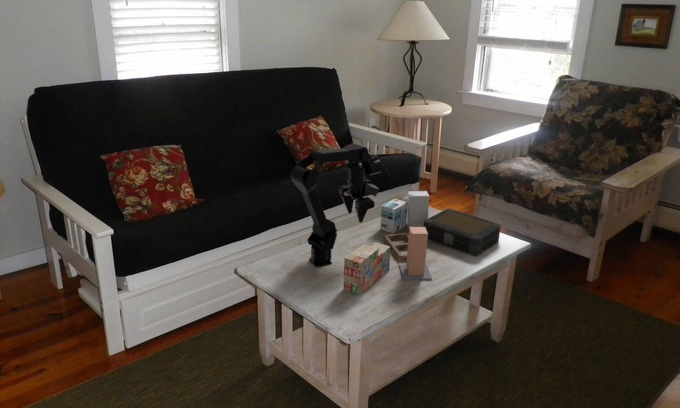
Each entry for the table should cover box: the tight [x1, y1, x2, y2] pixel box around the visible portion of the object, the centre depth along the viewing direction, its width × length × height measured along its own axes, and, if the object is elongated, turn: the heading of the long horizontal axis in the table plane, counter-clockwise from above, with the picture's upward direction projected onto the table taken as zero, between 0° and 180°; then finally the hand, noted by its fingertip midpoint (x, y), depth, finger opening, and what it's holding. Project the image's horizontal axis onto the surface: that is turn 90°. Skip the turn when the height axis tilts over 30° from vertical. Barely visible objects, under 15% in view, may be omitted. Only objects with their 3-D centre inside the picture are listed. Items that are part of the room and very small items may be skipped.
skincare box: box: [406, 190, 430, 229], centre depth 235 cm, size 8×6×15 cm
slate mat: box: [398, 264, 433, 281], centre depth 200 cm, size 10×10×1 cm
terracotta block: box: [405, 227, 428, 275], centre depth 197 cm, size 6×6×16 cm
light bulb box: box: [380, 198, 408, 234], centre depth 234 cm, size 11×7×11 cm, turn 143°
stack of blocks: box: [343, 242, 391, 296], centre depth 193 cm, size 21×6×12 cm, turn 148°
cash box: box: [423, 208, 502, 257], centre depth 226 cm, size 25×20×8 cm
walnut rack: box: [382, 232, 409, 262], centre depth 217 cm, size 10×19×2 cm, turn 14°
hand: (355, 217), depth 212 cm, fingers open, 9 cm apart
